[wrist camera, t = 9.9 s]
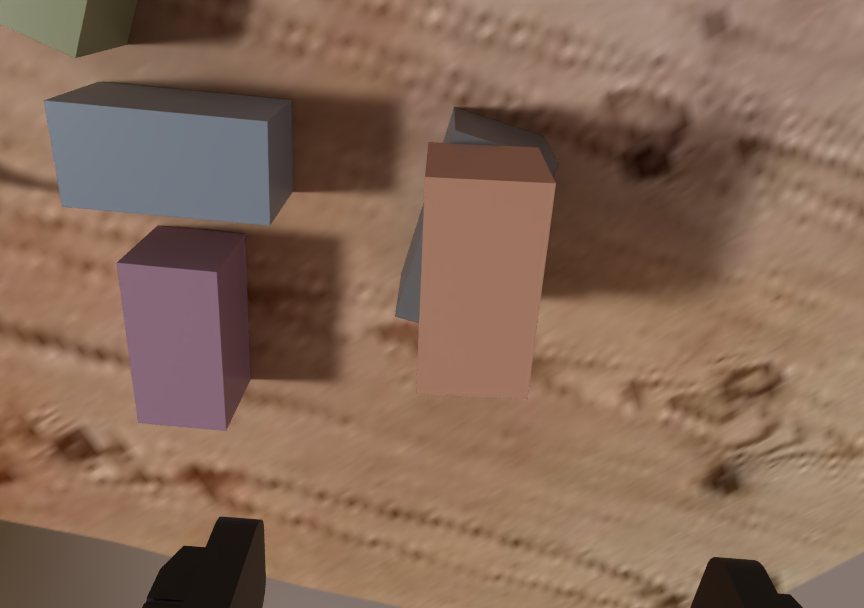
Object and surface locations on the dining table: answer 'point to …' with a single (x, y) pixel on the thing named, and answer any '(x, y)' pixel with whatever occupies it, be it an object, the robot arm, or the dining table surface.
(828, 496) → the dining table surface
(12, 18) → the olive brick
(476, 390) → the terracotta brick
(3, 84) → the dining table surface
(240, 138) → the slate blue brick
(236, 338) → the plum brick
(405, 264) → the charcoal brick
